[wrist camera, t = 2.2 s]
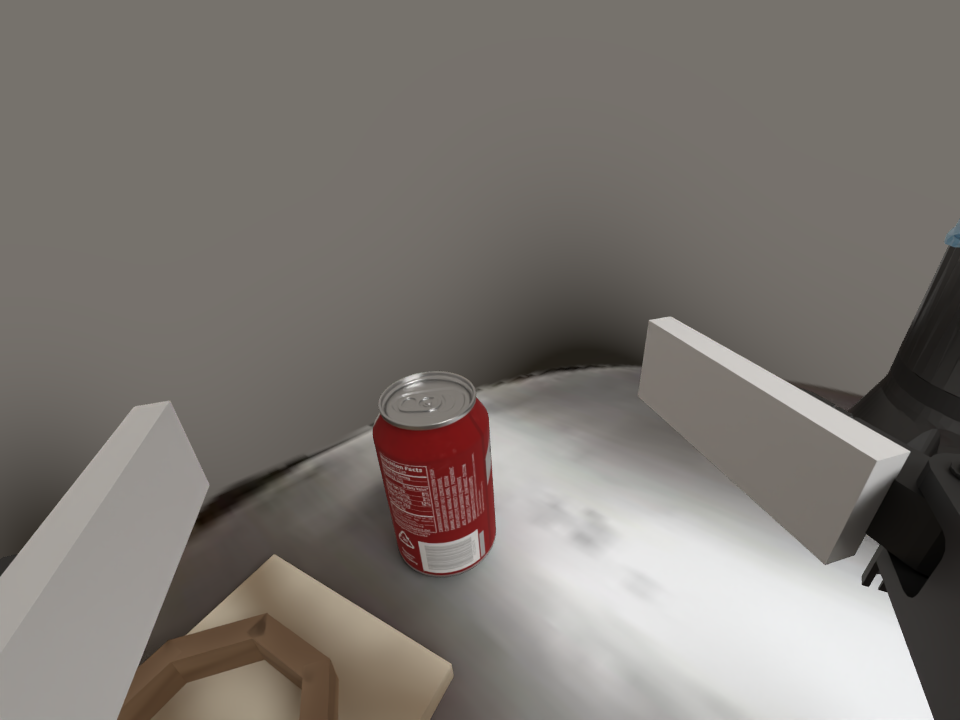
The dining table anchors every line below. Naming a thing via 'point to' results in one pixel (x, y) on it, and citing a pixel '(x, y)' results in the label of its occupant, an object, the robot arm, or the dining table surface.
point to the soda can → (437, 471)
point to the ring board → (288, 660)
